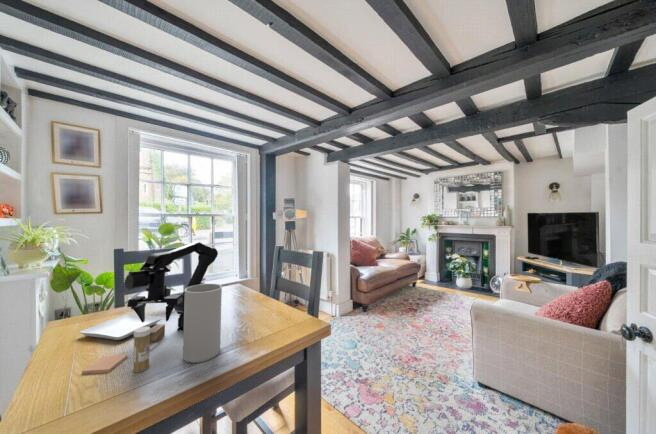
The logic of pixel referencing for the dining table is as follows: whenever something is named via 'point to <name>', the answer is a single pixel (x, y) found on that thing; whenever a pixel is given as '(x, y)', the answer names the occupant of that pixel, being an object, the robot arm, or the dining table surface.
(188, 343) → the cylinder vase
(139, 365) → the sprinkles bottle
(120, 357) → the ceramic tile
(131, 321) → the salad plate
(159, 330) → the tall cardboard box
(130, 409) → the dining table surface
